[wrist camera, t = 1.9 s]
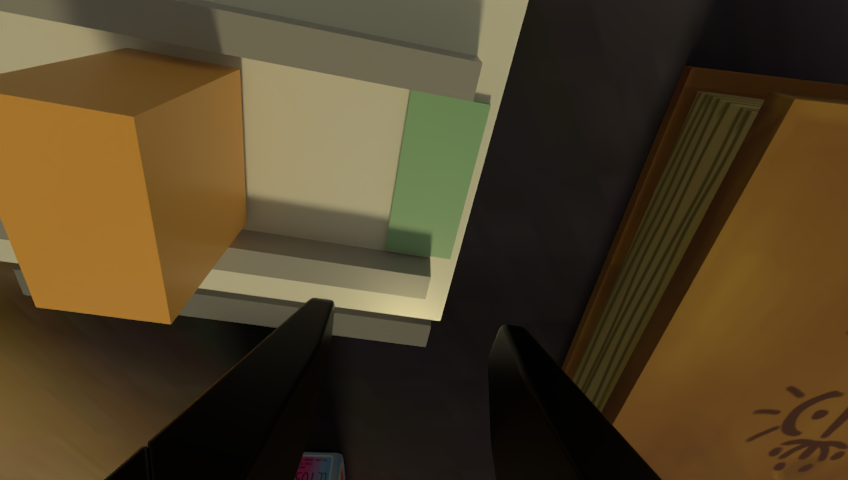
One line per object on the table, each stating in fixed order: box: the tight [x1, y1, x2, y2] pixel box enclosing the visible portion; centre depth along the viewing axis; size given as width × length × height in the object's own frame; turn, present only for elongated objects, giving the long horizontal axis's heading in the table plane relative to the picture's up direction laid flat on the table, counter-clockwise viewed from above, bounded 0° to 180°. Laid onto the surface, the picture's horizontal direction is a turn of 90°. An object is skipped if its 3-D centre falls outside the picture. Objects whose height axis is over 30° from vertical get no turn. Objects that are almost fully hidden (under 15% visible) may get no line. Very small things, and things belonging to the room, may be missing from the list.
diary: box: [562, 66, 848, 480], centre depth 19 cm, size 23×19×6 cm
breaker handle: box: [0, 48, 247, 324], centre depth 11 cm, size 3×5×5 cm, turn 169°
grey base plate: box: [13, 266, 431, 347], centre depth 15 cm, size 18×18×1 cm
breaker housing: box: [0, 0, 529, 321], centre depth 14 cm, size 18×12×4 cm, turn 79°
